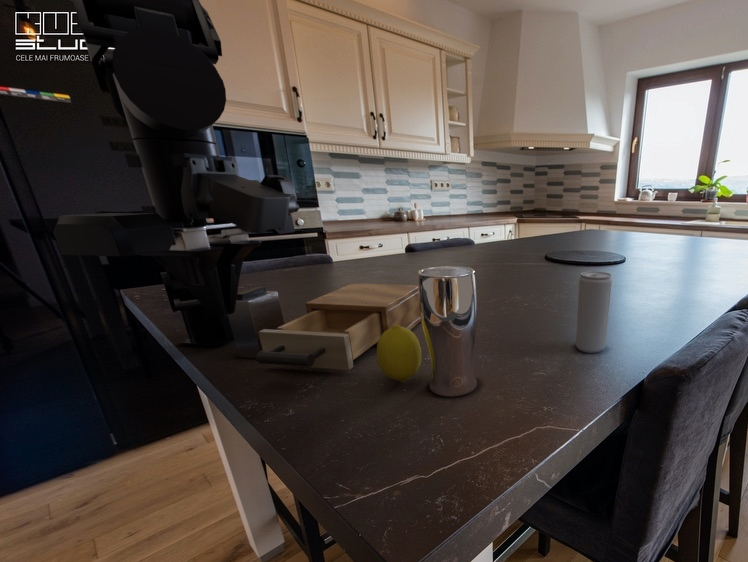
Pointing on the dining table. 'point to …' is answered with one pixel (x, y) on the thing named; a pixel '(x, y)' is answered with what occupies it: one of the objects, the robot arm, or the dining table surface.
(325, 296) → the cabinet
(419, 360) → the lemon
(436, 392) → the beer glass
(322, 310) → the drawer
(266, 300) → the tall upright grey box
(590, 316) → the beverage can
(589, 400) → the dining table surface
